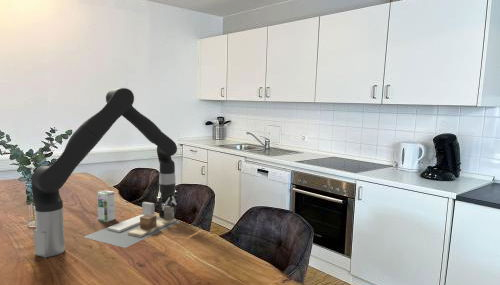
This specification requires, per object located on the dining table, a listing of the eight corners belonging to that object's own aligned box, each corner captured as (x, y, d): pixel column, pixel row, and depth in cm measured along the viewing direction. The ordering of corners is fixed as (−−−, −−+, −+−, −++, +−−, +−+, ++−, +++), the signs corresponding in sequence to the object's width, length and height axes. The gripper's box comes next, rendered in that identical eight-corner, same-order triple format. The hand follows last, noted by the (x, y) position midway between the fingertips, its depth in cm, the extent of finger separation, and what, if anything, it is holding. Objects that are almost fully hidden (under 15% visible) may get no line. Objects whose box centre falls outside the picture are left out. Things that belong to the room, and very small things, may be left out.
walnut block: (148, 229, 162) (148, 218, 162) (140, 228, 164) (139, 217, 164) (156, 226, 167) (156, 215, 166) (147, 224, 169) (147, 214, 168)
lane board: (125, 249, 145) (125, 247, 145) (82, 238, 156) (82, 236, 156) (181, 223, 177) (181, 221, 177) (142, 215, 188) (142, 213, 188)
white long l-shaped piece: (119, 232, 161) (118, 216, 161) (107, 229, 164) (107, 214, 164) (156, 217, 183) (155, 203, 182) (145, 215, 186) (144, 201, 185)
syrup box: (97, 221, 177) (96, 192, 176) (107, 218, 182) (106, 189, 181) (105, 223, 175) (104, 193, 173) (115, 220, 180) (114, 191, 178)
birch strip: (140, 237, 156) (139, 221, 155) (127, 234, 159) (127, 218, 158) (175, 221, 177) (175, 206, 177) (164, 218, 181) (163, 204, 180)
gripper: (163, 186, 167) (164, 220, 169) (182, 180, 180) (183, 212, 182) (151, 184, 171) (151, 218, 173) (170, 178, 183) (170, 210, 185)
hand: (167, 215), depth 177 cm, fingers open, 8 cm apart
